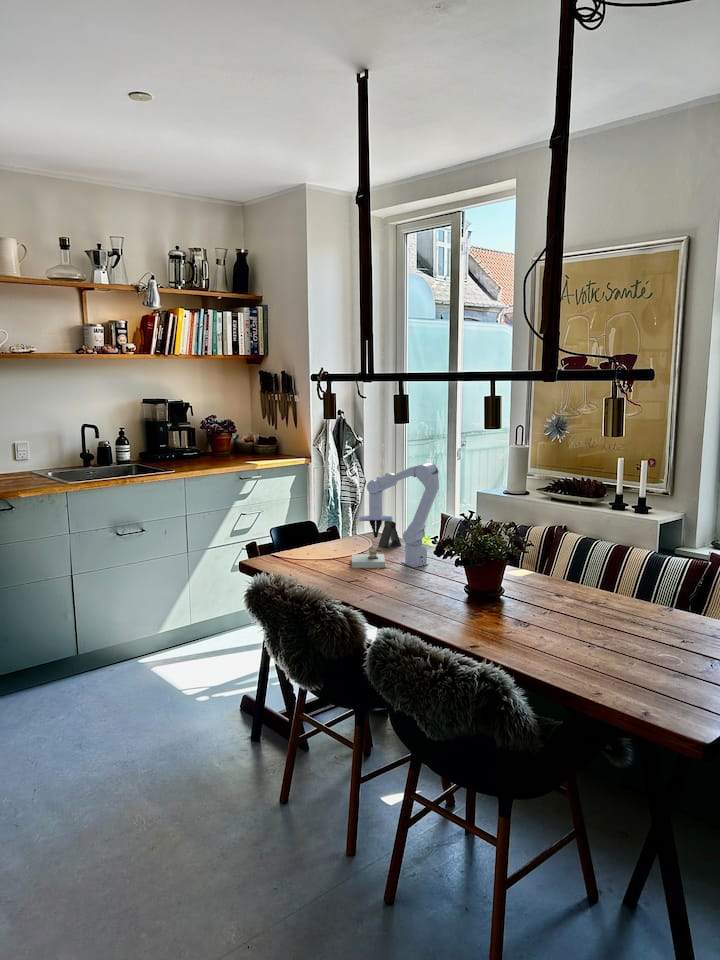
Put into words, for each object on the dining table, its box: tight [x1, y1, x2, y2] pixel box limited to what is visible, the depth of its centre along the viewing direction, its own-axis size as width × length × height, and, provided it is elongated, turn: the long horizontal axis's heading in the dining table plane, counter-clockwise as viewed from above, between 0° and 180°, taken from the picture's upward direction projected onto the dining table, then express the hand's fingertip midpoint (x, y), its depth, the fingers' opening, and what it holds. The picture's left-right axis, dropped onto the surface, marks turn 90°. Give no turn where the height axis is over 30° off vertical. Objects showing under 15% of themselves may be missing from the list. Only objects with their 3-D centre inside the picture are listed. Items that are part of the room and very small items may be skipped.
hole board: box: [351, 553, 386, 569], centre depth 300 cm, size 14×12×2 cm
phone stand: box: [378, 520, 402, 549], centre depth 329 cm, size 9×6×12 cm, turn 116°
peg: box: [368, 546, 378, 559], centre depth 300 cm, size 3×3×7 cm
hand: (375, 537), depth 308 cm, fingers closed
